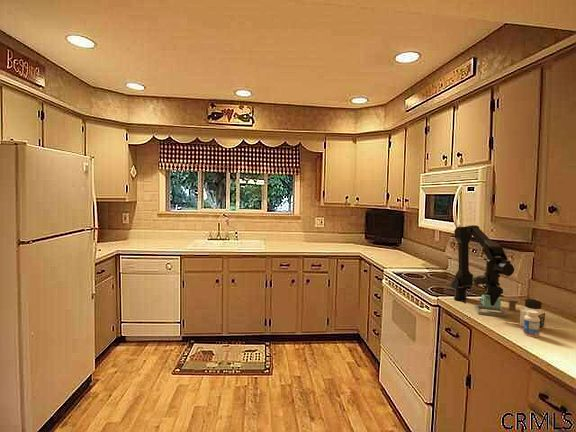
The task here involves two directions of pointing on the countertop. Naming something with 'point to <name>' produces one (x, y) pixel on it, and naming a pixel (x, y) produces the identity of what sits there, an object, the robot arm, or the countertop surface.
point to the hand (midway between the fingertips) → (490, 303)
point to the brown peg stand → (512, 307)
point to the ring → (486, 301)
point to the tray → (490, 312)
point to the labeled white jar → (535, 306)
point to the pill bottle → (531, 324)
